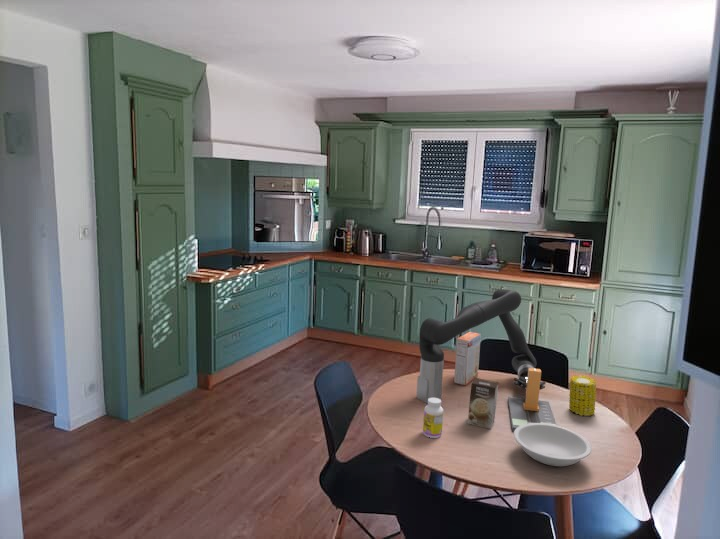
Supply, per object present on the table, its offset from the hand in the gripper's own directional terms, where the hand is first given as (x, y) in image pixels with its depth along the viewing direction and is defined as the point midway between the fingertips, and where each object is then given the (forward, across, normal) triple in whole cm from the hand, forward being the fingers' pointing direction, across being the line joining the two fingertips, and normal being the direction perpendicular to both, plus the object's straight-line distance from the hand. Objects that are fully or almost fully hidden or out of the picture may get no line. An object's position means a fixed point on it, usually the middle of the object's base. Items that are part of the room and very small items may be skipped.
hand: (531, 391), depth 204 cm
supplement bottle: (+30, -36, +9) cm, 48 cm away
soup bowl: (+35, +3, +9) cm, 37 cm away
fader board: (+6, 0, +8) cm, 10 cm away
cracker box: (-26, -25, +9) cm, 37 cm away
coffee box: (+16, -19, +9) cm, 27 cm away
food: (-6, +20, +9) cm, 22 cm away
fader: (+2, 0, +6) cm, 7 cm away
